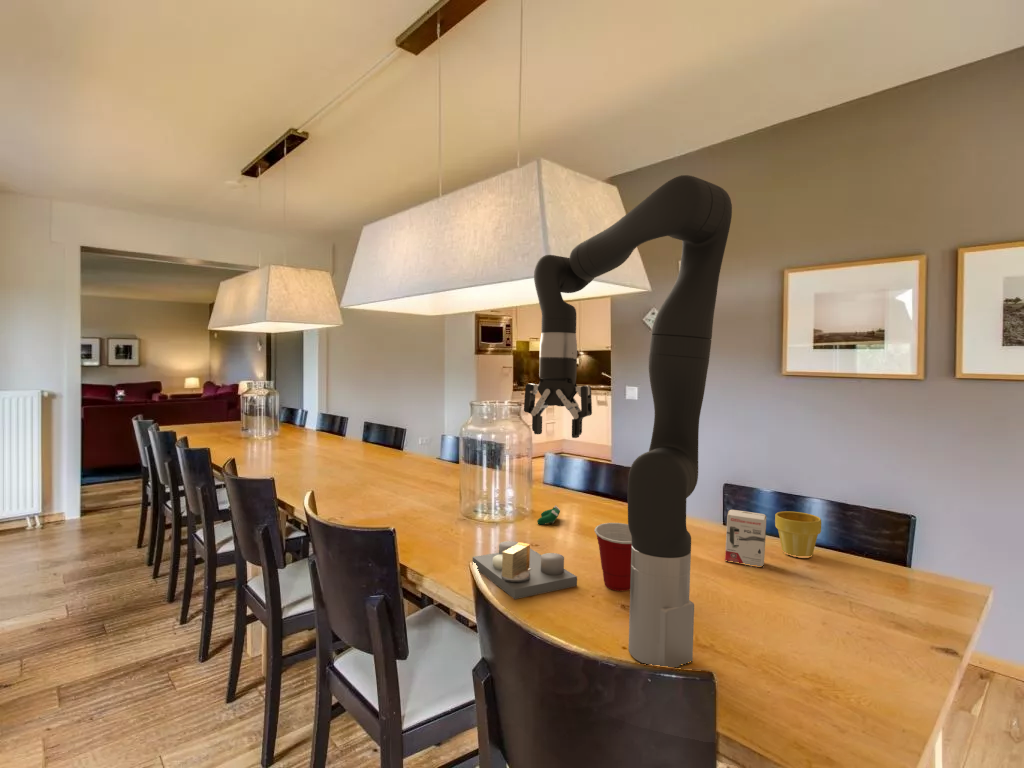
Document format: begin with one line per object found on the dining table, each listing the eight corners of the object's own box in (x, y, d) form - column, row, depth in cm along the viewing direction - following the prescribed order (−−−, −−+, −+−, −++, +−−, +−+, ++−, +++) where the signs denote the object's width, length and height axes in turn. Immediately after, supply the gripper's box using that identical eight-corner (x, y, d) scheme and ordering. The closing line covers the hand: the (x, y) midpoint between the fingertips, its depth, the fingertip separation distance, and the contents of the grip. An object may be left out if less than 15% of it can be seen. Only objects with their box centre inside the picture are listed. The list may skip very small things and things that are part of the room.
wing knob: (519, 585, 108) (520, 555, 108) (494, 579, 111) (495, 549, 111) (536, 574, 114) (537, 545, 114) (512, 568, 117) (512, 540, 117)
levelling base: (576, 585, 114) (577, 562, 114) (514, 599, 107) (515, 574, 107) (528, 555, 132) (529, 535, 131) (472, 565, 124) (472, 543, 124)
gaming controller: (544, 532, 157) (559, 519, 156) (535, 522, 157) (550, 508, 156) (548, 523, 166) (563, 510, 165) (540, 513, 166) (554, 501, 165)
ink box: (724, 562, 130) (725, 513, 130) (726, 556, 134) (728, 509, 134) (763, 569, 126) (765, 519, 126) (764, 562, 130) (766, 514, 130)
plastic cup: (606, 599, 108) (608, 539, 107) (584, 578, 118) (586, 524, 118) (655, 594, 111) (656, 536, 110) (630, 574, 121) (631, 521, 121)
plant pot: (764, 549, 140) (766, 511, 140) (797, 546, 143) (798, 509, 143) (795, 563, 130) (797, 523, 130) (830, 560, 133) (831, 520, 133)
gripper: (518, 355, 110) (516, 434, 111) (583, 355, 103) (581, 440, 103) (536, 356, 116) (534, 431, 117) (598, 356, 109) (596, 436, 110)
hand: (556, 435), depth 110 cm, fingers open, 8 cm apart
